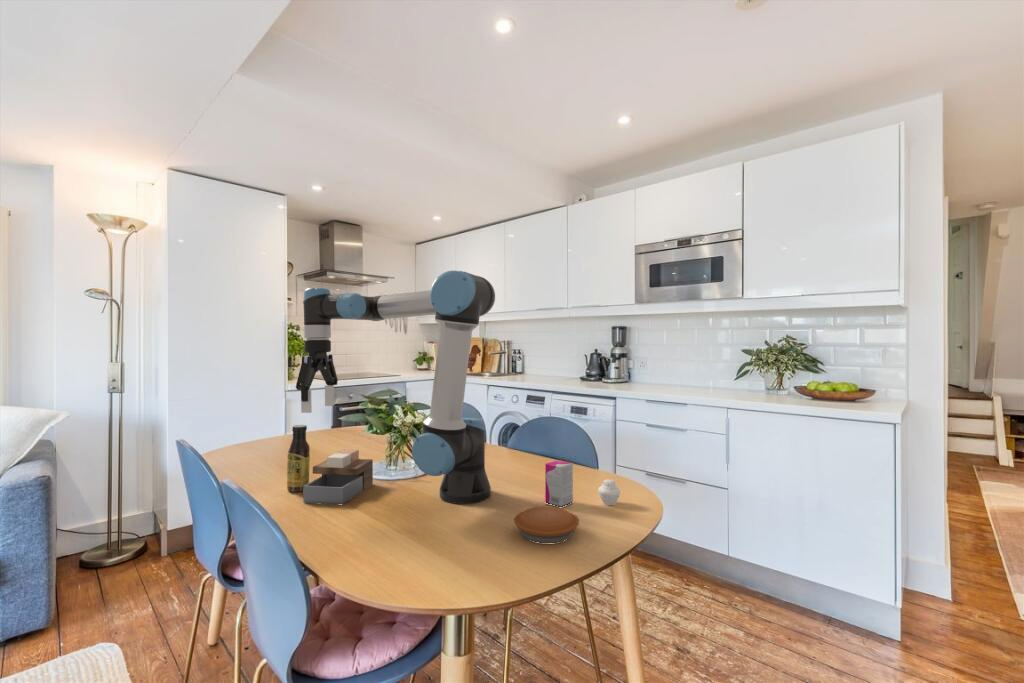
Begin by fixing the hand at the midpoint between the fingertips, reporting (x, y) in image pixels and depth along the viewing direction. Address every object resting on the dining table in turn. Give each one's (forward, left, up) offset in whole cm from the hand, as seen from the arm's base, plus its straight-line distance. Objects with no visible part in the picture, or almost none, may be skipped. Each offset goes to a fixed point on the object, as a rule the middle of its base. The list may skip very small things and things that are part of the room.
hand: (318, 409), depth 143 cm
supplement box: (-73, 0, -26) cm, 77 cm away
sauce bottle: (+7, -1, -25) cm, 27 cm away
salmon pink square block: (-6, -7, -17) cm, 19 cm away
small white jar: (-87, -2, -26) cm, 91 cm away
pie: (-71, +21, -26) cm, 78 cm away
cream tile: (-6, -1, -17) cm, 18 cm away
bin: (-7, +4, -25) cm, 26 cm away
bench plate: (-6, -4, -25) cm, 26 cm away
